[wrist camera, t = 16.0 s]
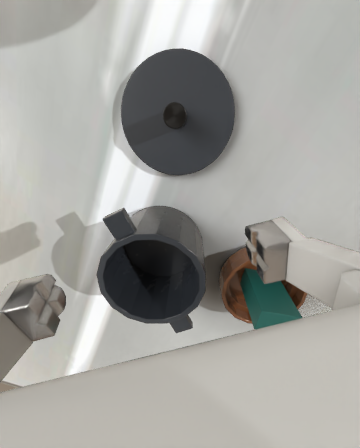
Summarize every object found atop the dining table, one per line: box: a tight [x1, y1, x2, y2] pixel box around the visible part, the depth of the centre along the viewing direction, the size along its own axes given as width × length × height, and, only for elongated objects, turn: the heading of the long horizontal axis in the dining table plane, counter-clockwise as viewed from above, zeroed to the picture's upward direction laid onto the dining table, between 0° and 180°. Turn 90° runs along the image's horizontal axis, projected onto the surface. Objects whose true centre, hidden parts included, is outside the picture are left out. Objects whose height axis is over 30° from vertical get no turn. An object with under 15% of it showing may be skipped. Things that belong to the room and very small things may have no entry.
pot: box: [97, 206, 205, 333], centre depth 30 cm, size 12×18×10 cm
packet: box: [240, 268, 302, 329], centre depth 31 cm, size 3×5×9 cm, turn 81°
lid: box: [121, 49, 235, 175], centre depth 25 cm, size 13×13×6 cm
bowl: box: [219, 247, 307, 324], centre depth 34 cm, size 12×12×4 cm
